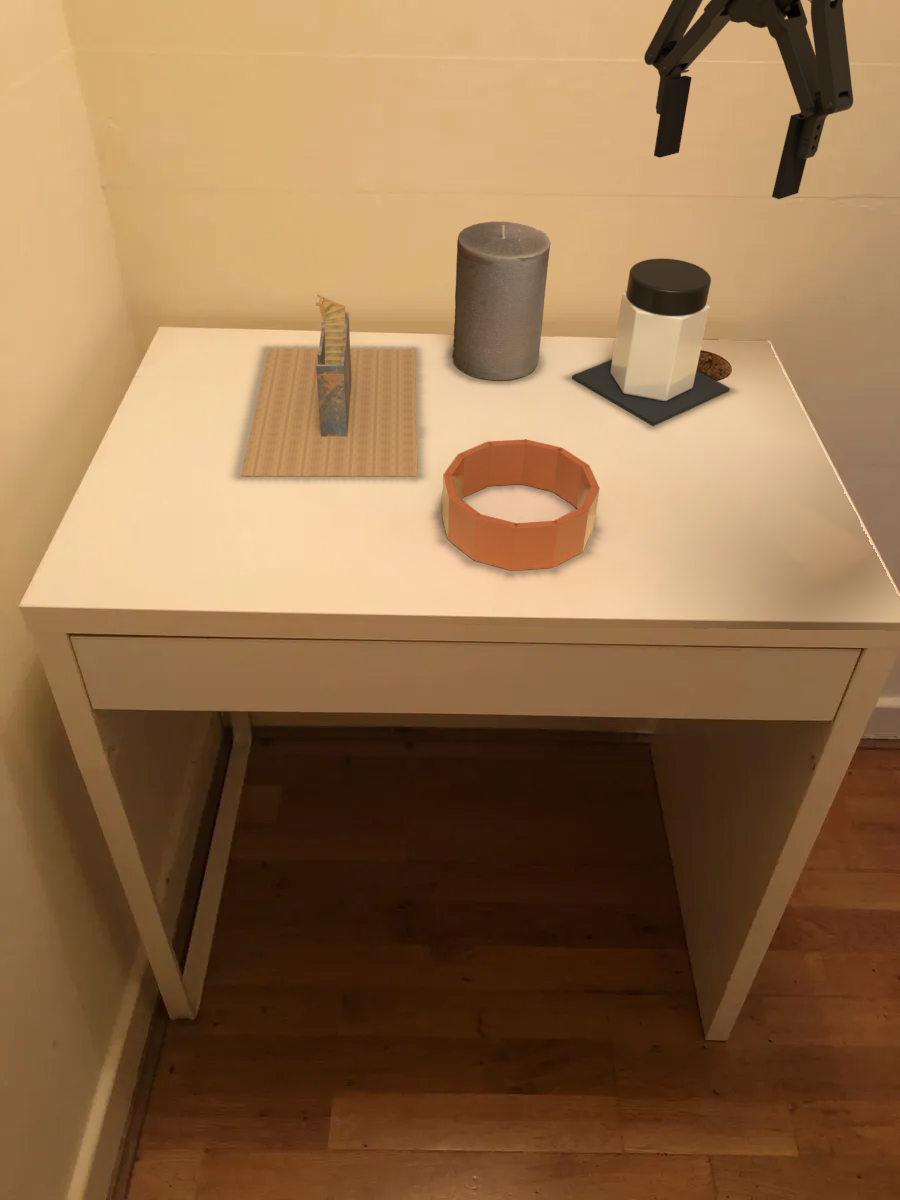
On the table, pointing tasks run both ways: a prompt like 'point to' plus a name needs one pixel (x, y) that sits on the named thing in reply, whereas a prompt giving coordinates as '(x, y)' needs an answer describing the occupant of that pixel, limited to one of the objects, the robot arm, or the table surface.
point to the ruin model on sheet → (335, 409)
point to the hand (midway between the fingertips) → (722, 174)
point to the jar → (661, 328)
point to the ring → (519, 540)
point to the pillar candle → (499, 299)
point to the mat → (645, 407)
